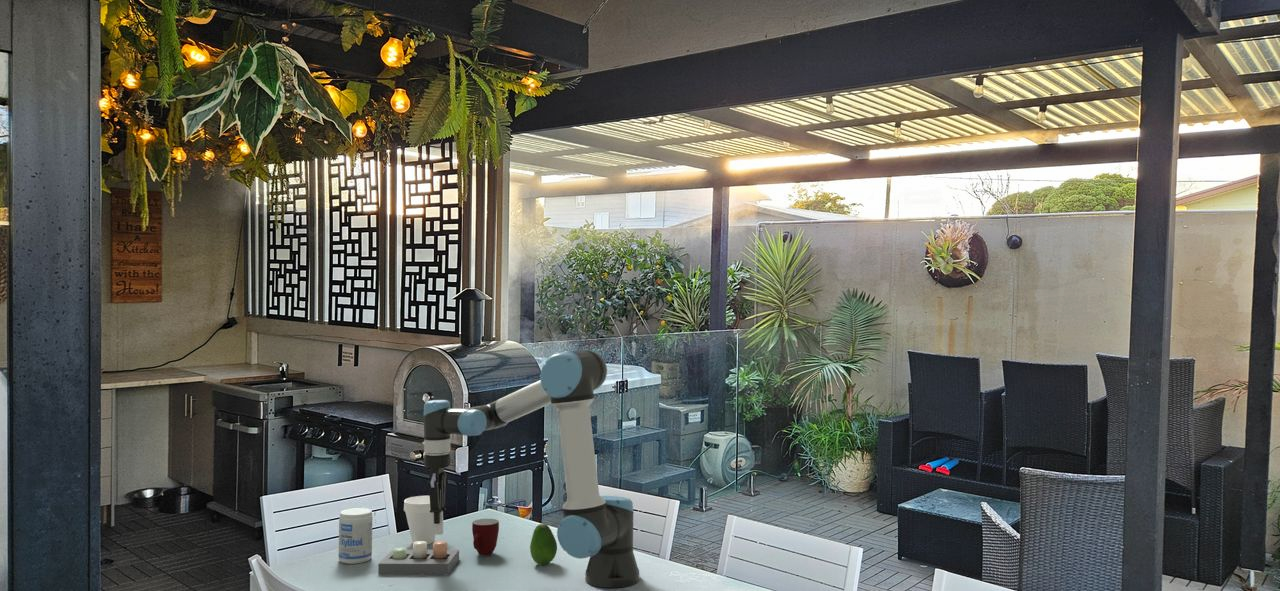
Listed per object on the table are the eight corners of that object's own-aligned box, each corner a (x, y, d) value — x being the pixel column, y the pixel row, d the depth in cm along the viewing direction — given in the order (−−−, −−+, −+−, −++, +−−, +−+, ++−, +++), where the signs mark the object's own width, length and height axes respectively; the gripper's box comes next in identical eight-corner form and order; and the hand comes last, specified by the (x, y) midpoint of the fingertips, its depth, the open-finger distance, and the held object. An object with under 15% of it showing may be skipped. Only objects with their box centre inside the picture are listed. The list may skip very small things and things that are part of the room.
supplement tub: (337, 566, 256) (338, 516, 256) (339, 557, 265) (339, 508, 265) (372, 563, 259) (372, 513, 259) (372, 554, 268) (372, 506, 268)
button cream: (428, 554, 257) (428, 541, 257) (424, 558, 253) (424, 544, 253) (415, 554, 257) (414, 540, 257) (411, 558, 253) (411, 544, 253)
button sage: (408, 561, 257) (408, 547, 257) (404, 565, 253) (404, 551, 253) (395, 560, 257) (394, 547, 257) (390, 565, 253) (390, 551, 253)
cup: (396, 545, 277) (396, 502, 278) (416, 535, 289) (416, 494, 289) (430, 548, 274) (430, 505, 274) (449, 538, 286) (449, 496, 286)
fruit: (562, 563, 258) (562, 523, 258) (545, 570, 252) (545, 528, 252) (542, 558, 263) (542, 519, 263) (524, 565, 256) (524, 524, 256)
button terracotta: (448, 554, 257) (448, 541, 257) (445, 558, 253) (445, 544, 253) (435, 554, 257) (434, 541, 257) (431, 558, 253) (431, 544, 253)
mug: (490, 561, 260) (490, 527, 260) (464, 559, 262) (464, 526, 262) (502, 551, 271) (502, 519, 271) (478, 549, 272) (478, 517, 272)
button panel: (459, 559, 262) (459, 549, 262) (447, 574, 248) (447, 563, 248) (393, 559, 262) (393, 549, 262) (378, 574, 248) (378, 563, 248)
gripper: (430, 449, 262) (430, 528, 261) (418, 457, 249) (419, 539, 248) (455, 449, 262) (455, 528, 261) (444, 457, 249) (445, 539, 248)
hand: (438, 533), depth 255 cm, fingers closed
